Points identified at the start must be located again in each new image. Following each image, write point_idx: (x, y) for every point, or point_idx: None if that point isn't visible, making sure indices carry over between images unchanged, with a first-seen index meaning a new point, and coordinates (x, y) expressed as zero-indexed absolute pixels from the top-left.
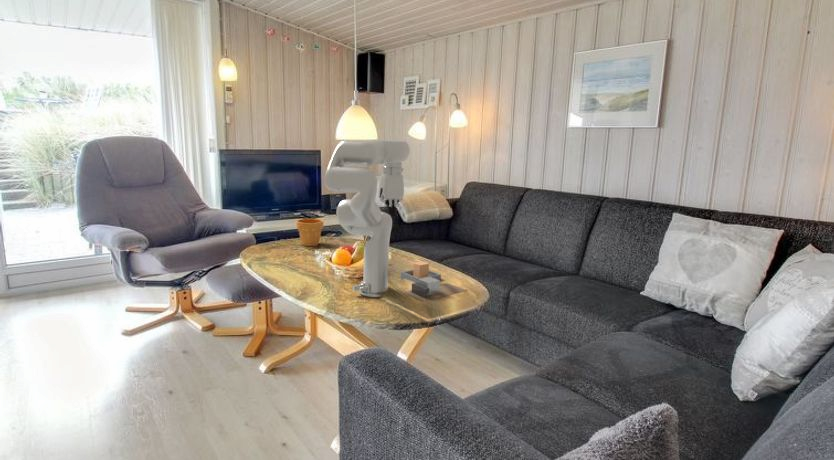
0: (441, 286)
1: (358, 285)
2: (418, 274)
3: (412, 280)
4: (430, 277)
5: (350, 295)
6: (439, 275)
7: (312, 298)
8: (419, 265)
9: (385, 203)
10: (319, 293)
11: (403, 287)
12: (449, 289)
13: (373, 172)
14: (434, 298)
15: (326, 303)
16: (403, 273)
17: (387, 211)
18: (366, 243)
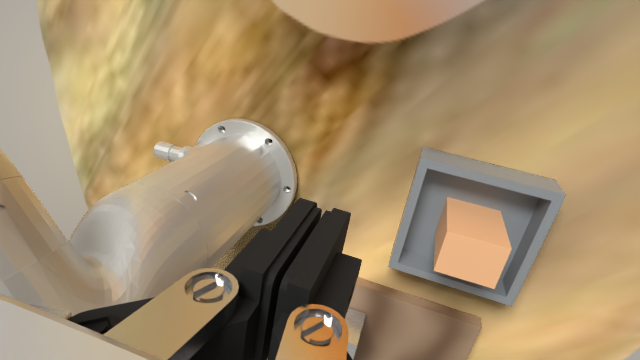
0: (424, 328)
1: (171, 158)
2: (436, 241)
3: (399, 227)
4: (350, 348)
5: (171, 133)
6: (502, 302)
7: (73, 70)
8: (434, 268)
9: (129, 315)
10: (105, 45)
11: (354, 210)
12: (415, 357)
13: None
14: None
15: (90, 133)
16: (415, 176)
17: (250, 248)
18: (71, 237)
